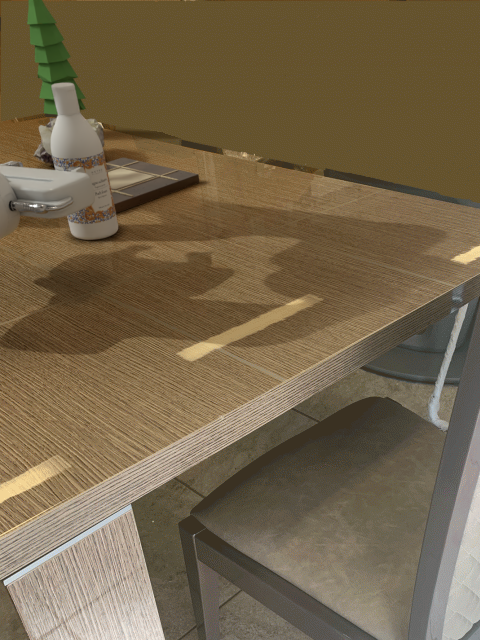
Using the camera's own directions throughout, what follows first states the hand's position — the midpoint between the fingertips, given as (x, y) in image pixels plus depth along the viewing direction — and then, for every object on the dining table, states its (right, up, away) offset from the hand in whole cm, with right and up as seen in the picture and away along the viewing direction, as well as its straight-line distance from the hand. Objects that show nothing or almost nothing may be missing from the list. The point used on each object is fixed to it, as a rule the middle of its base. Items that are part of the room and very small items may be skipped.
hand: (49, 170), depth 85 cm
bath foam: (+2, -5, +12) cm, 13 cm away
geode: (-14, +19, +43) cm, 49 cm away
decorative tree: (-20, +32, +60) cm, 71 cm away
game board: (0, +9, +29) cm, 30 cm away
